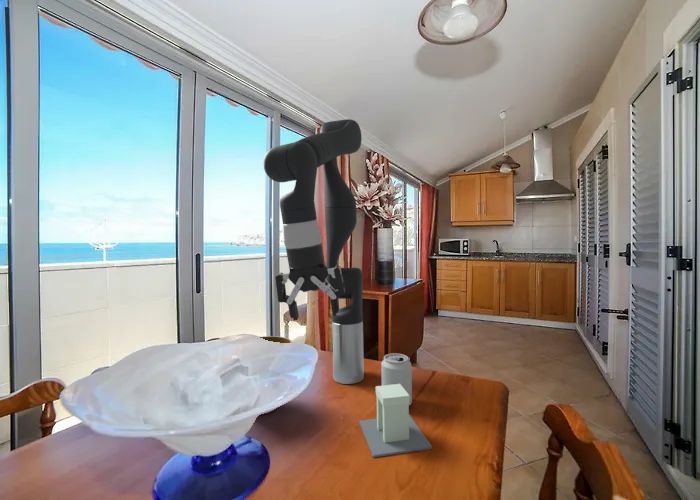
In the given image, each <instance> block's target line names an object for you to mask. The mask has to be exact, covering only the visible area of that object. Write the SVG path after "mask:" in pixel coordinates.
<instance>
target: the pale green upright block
mask: <svg viewBox="0 0 700 500" xmlns="http://www.w3.org/2000/svg"><path fill="white" fill-rule="evenodd" d="M375 395H376V419H377V428H378V430H383V440H384V442H385V443H387V442H394V441H401V440H408V439H409V415H410V409H409V408H410V407H409V406H410V405H409V403H410V397H409V394H408V393H407V392H406V391H405V389H404V388H403V387H402V386H401V384H393V385H384V386H382V385H376V386H375Z"/></svg>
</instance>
